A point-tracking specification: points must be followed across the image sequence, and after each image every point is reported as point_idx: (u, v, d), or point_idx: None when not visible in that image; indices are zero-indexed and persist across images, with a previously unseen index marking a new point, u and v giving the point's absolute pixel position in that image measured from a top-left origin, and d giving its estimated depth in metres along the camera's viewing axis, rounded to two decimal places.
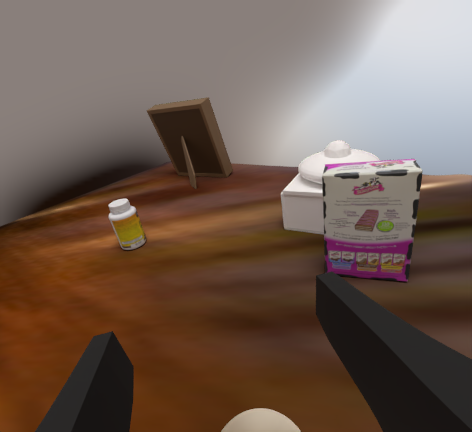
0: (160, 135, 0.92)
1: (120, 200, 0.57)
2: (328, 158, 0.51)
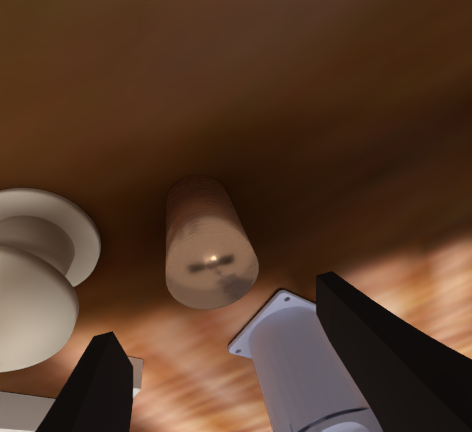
0: None
1: None
2: None
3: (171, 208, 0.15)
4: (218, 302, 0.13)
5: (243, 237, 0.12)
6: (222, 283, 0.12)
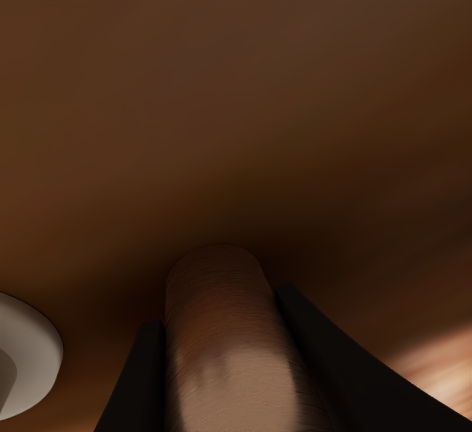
0: None
1: None
2: None
3: (174, 322, 0.08)
4: None
5: None
6: None
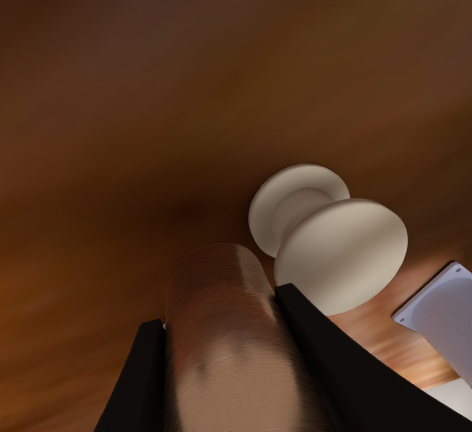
0: None
1: None
2: None
3: (173, 320, 0.08)
4: None
5: None
6: None
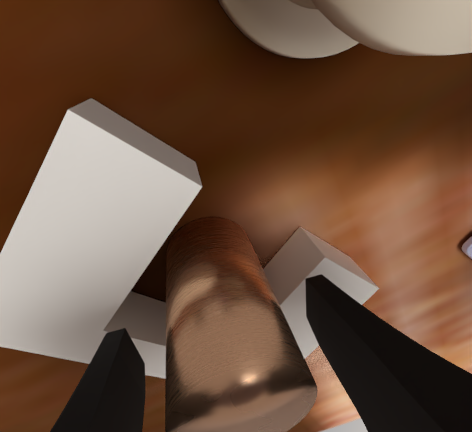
0: None
1: None
2: None
3: (173, 276, 0.10)
4: None
5: (293, 350, 0.07)
6: (258, 421, 0.07)
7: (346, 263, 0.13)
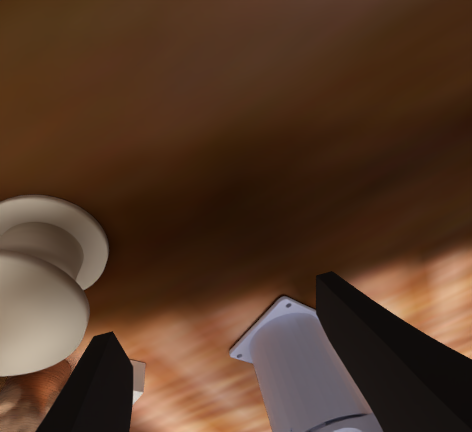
0: None
1: None
2: None
3: None
4: None
5: None
6: None
7: None
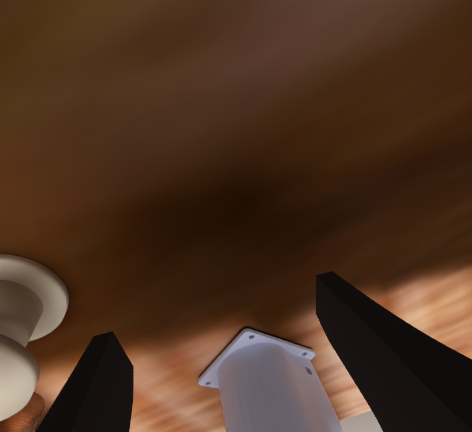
0: None
1: None
2: None
3: None
4: None
5: None
6: None
7: None
